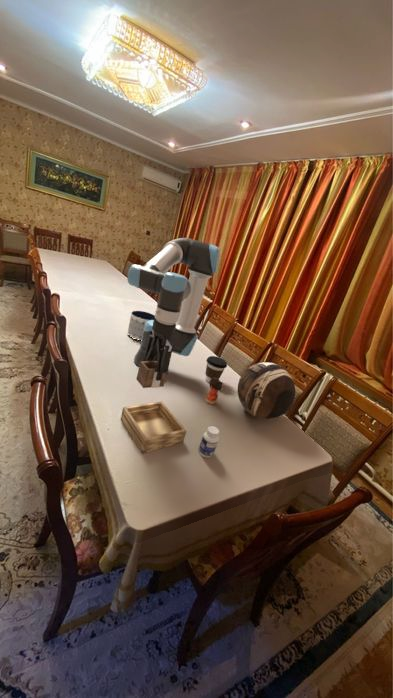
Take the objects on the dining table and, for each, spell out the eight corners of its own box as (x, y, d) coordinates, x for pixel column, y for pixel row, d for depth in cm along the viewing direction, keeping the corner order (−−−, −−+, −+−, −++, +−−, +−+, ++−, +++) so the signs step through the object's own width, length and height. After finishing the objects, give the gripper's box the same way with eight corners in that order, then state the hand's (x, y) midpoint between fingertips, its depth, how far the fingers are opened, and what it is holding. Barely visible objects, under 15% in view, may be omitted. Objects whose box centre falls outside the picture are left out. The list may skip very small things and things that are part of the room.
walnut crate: (156, 378, 107) (160, 361, 105) (163, 386, 103) (168, 369, 100) (136, 379, 102) (140, 361, 100) (143, 388, 98) (147, 369, 96)
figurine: (218, 401, 134) (226, 378, 130) (215, 406, 129) (223, 383, 125) (206, 395, 136) (213, 373, 132) (202, 401, 131) (209, 378, 126)
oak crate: (158, 411, 114) (161, 401, 113) (183, 442, 102) (186, 430, 100) (120, 418, 105) (123, 407, 103) (142, 453, 92) (145, 440, 90)
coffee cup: (225, 383, 153) (231, 363, 149) (212, 387, 145) (218, 366, 140) (209, 373, 159) (216, 354, 155) (196, 377, 151) (202, 357, 147)
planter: (150, 344, 175) (155, 322, 170) (124, 337, 174) (128, 315, 169) (154, 335, 190) (158, 315, 185) (130, 329, 189) (134, 308, 184)
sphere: (251, 434, 117) (273, 381, 108) (220, 398, 137) (236, 351, 128) (294, 428, 130) (316, 380, 121) (260, 396, 150) (277, 353, 141)
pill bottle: (197, 445, 102) (204, 423, 99) (212, 448, 103) (219, 426, 100) (198, 456, 97) (206, 433, 94) (214, 459, 98) (222, 436, 95)
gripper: (142, 310, 99) (130, 369, 107) (169, 331, 86) (153, 397, 93) (161, 312, 104) (148, 368, 112) (190, 332, 90) (172, 395, 98)
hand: (150, 382), depth 103 cm, fingers closed on walnut crate, 6 cm apart
